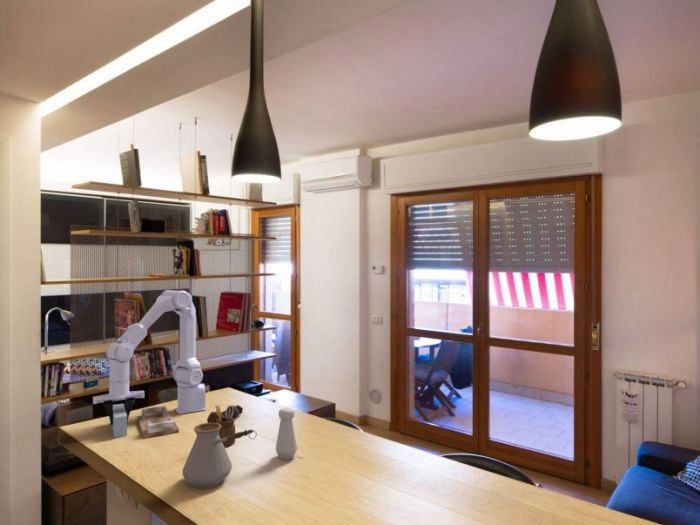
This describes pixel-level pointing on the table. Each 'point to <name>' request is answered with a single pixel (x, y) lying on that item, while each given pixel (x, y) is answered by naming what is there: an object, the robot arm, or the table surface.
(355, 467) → the table surface
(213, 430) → the coffee pot
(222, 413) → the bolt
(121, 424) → the slat
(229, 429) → the utensil holder
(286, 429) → the salt shaker
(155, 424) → the frame
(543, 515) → the table surface
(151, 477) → the table surface
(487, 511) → the table surface
